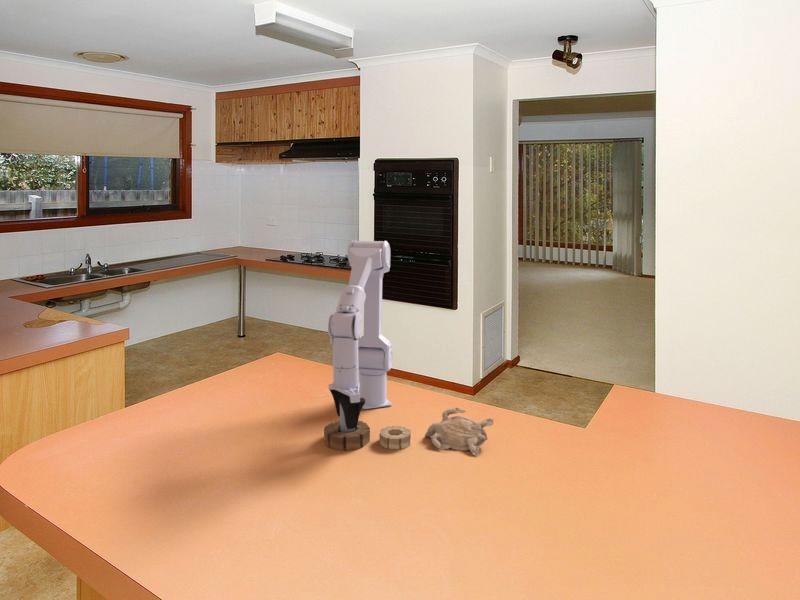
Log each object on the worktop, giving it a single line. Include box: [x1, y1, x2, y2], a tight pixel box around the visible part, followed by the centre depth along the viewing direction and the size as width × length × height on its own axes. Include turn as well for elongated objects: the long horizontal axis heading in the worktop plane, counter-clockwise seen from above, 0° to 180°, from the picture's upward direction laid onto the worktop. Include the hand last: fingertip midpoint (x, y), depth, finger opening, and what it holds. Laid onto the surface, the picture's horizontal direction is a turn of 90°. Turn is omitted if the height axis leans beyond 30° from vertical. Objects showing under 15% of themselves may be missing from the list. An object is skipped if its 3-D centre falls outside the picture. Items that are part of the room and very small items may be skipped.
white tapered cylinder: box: [339, 404, 355, 433], centre depth 138 cm, size 3×3×9 cm
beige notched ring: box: [379, 425, 412, 450], centre depth 137 cm, size 7×7×2 cm
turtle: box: [424, 407, 495, 457], centre depth 136 cm, size 16×10×10 cm, turn 87°
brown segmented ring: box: [323, 419, 371, 451], centre depth 138 cm, size 10×10×3 cm
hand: (346, 421), depth 138 cm, fingers open, 7 cm apart
